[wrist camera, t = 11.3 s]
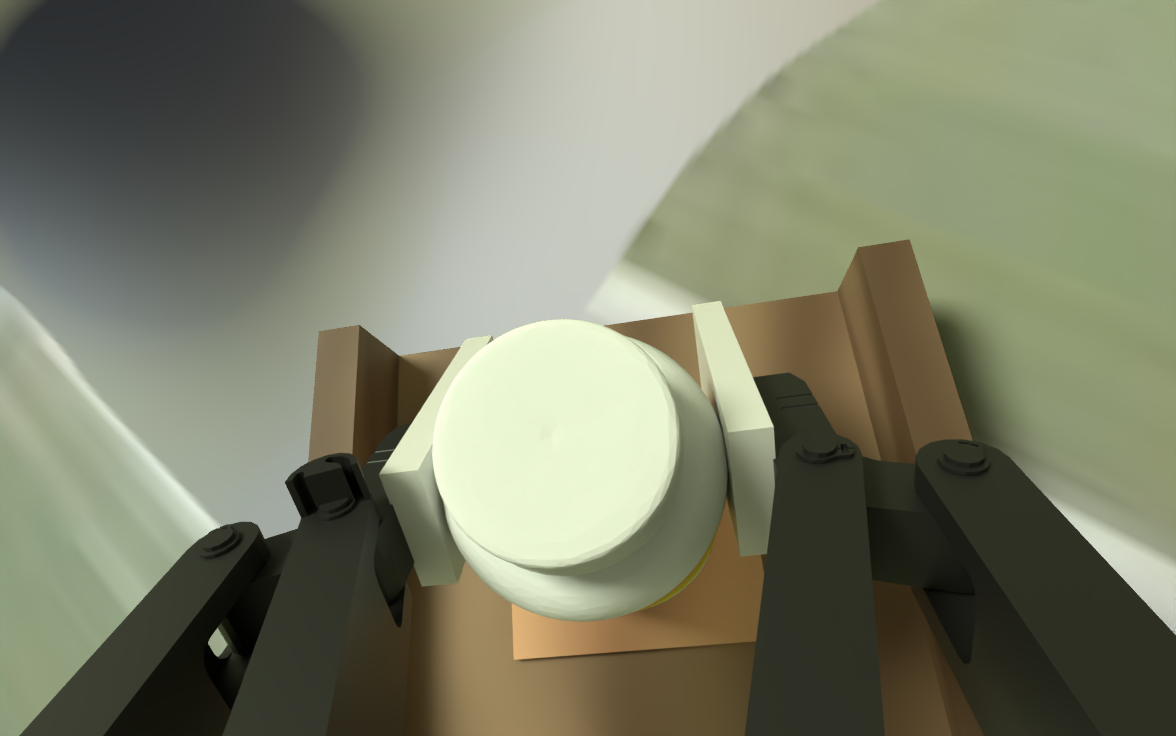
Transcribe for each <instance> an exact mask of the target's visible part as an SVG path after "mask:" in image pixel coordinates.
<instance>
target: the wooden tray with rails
mask: <svg viewBox="0 0 1176 736" xmlns="http://www.w3.org/2000/svg"><path fill="white" fill-rule="evenodd" d="M724 311H725V313H726V315H727V318H728V320H729V323H730V325H731V327H732V330H733V332H734V334H735V337H736V339H737V341H738V344H739V346H740V348H741V351H742V353H743V356H744V358H745V360H746V363H747V365H748V367H749V370H750V372H751V374H752V377H758V376H766V375H773V374H781V373H788V372H790V373H791V374H793V375H795V376H797V377H798V378H800V379H802V380H804V381H805V382H806V384H807V385H808V387H809V389H810V391H811V392H812V396H814V397H815V399H816V401H817V402H818V405H819V406H820V407H821V409H822V411H823V412H824V414H825V416H826V417H827V419H828V421H829V422H830V424H831V426H832V427H833V429H834V431H835V432H836V434H837V435H840V436H842V437H845V438H848V439H850V440H851V441H852V442H854V443H855V444H856V445H858V447H859V449H860V451H861V453H862V456H863V457H867V458H870V459H874V460H880V461H887V462H898V463H912V464H915V456H916V455H917V453H918V451H919V449H920V448H921V447H923V446H925V445H927V444H928V443H930V442H935V441H940V440H945V439H964V440H969V441H973V439H972V436H971V433H970V430H969V427H968V423H967V420H966V417H965V414H964V411H963V408H962V404H961V401H960V398H959V395H958V392H957V389H956V385H955V382H954V379H953V376H952V373H951V370H950V366H949V363H948V360H947V357H946V354H945V351H944V347H943V344H942V341H941V338H940V335H939V331H938V328H937V325H936V322H935V319H934V316H933V312H932V309H931V306H930V303H929V300H928V297H927V293H926V290H925V287H924V284H923V281H922V278H921V274H920V271H919V268H918V265H917V262H916V259H915V255H914V252H913V249H912V246H911V243H910V240H903V241H897V242H890V243H884V244H877V245H871V246H865V247H858V249H857V252H856V254H855V256H854V258H853V260H852V262H851V264H850V266H849V268H848V270H847V273H846V275H845V277H844V279H843V281H842V283H841V285H840V287H839V289H838V291H837V292H830V293H823V294H817V295H810V296H803V297H796V298H789V299H783V300H776V301H769V302H762V303H756V304H749V305H742V306H735V307H728V308H724ZM605 327H607V328H610V329H612V330H614V331H616V332H618V333H620V334H622V335H624V336H626V337H630V338H633V339H636V340H639V341H641V342H643V343H646V344H648V345H650V346H652V347H654V348H656V349H658V350H660V351H661V352H663V353H664V354H666V355H667V356H669V357H670V358H672V359H673V360H674V361H676V362H677V363H678V364H679V365H680V366H681V367H682V368H683V369H685V370H686V372H687V373H688V374H689V375H690V376H691V377H692V378H693V379H694V380H695V382H696V383H697V384H698V385H699V386H700V388H701V381H700V372H699V363H698V355H697V346H696V337H695V329H694V320H693V313H688V314H681V315H674V316H667V317H660V318H654V319H647V320H640V321H633V322H627V323H620V324H613V325H606V326H605ZM460 348H461V347H457V348H450V349H443V350H437V351H430V352H423V353H416V354H409V355H404V356H399V355H397V354H396V353H395V352H393V351H392V350H391V349H390V348H388V347H387V346H386V345H384V344H383V343H382V342H380V341H379V340H378V339H377V338H375V337H374V336H372V335H371V334H370V333H369V332H368V331H366V330H365V329H364V328H362V327H361V326H360V325H357V326H351V327H344V328H338V329H331V330H325V331H319V338H318V349H317V350H318V351H317V362H316V374H315V387H314V399H313V412H312V424H311V436H310V451H309V461H308V462H310V461H312V460H314V459H317V458H320V457H323V456H326V455H330V454H336V453H351V454H352V455H354V456H356V457H357V460H358V462H359V465H360V467H361V469H362V468H363V467H364V465H365V464H366V463H368V459H369V458H370V456H371V455H372V454H373V453H375V449H376V448H377V446H378V445H379V444H380V442H381V441H382V439H383V438H384V437H385V436H386V435H388V434H389V433H390V432H392V431H393V430H394V429H395V428H397V427H398V426H399V425H407V424H412V422H413V421H414V419H415V418H416V416H417V414H418V413H419V411H420V410H421V408H422V407H423V405H424V404H425V402H426V400H427V399H428V397H429V396H430V394H431V393H432V391H433V390H434V388H435V386H436V385H437V383H438V382H439V380H440V379H441V377H442V376H443V374H444V373H445V371H446V369H447V368H448V366H449V365H450V363H451V362H452V360H453V359H454V357H455V355H456V354H457V352H458V351H459V349H460ZM766 556H767V554H761V555H751V556H740V554H739V549H738V545H737V541H736V537H735V532H734V528H733V524H732V520H731V515H730V511H729V507H728V503H727V498H726V503H725V507H724V511H723V515H722V519H721V522H720V525H719V528H718V531H717V534H716V537H715V541H714V544H713V547H712V550H711V553H710V555H709V557H708V559H707V560H706V562H705V564H704V566H703V568H702V569H701V571H700V572H699V573H698V575H697V576H696V577H695V579H694V580H693V581H692V582H691V583H690V584H689V585H688V586H687V587H686V588H685V589H683V590H682V591H681V592H680V593H678V594H677V595H675V596H674V597H672V598H670V599H668V600H667V601H665V602H663V603H661V604H659V605H656V606H653V607H650V608H647V609H644V610H640V611H637V612H634V613H631V614H627V615H624V616H621V617H618V618H612V619H607V620H600V621H589V622H577V621H564V620H558V619H552V618H548V617H544V616H541V615H538V614H535V613H532V612H529V611H527V610H525V609H523V608H521V607H518V606H516V605H514V604H513V603H511V602H509V601H508V600H506V599H505V598H503V597H502V596H500V595H499V594H497V593H496V592H494V591H493V590H492V589H491V588H490V587H488V586H487V585H486V584H485V583H484V582H483V581H482V580H481V579H480V578H479V577H478V576H477V574H476V573H475V572H474V571H473V570H472V569H471V567H470V566H469V565H468V563H467V562H466V561H465V564H464V567H463V570H462V573H461V576H460V578H459V581H458V583H455V584H444V585H434V586H423V587H422V586H421V583H420V580H419V578H418V575H417V573H416V570H415V567H414V565H413V567H412V569H411V571H410V574H409V576H408V578H407V580H406V583H407V585H408V588H409V590H410V593H411V597H412V615H411V629H410V644H409V659H408V674H407V688H406V703H405V718H404V732H403V736H745V728H746V720H747V712H748V703H749V695H750V687H751V679H752V671H753V662H754V654H755V646H756V638H757V630H758V621H759V613H760V605H761V597H762V588H763V580H764V572H765V564H766ZM872 584H873V597H874V609H875V621H876V633H877V645H878V658H879V670H880V682H881V694H882V706H883V719H884V731H885V736H984V734H983V732H982V730H981V728H980V726H979V724H978V722H977V720H976V718H975V716H974V714H973V712H972V710H971V708H970V706H969V704H968V702H967V700H966V698H965V696H964V694H963V692H962V690H961V688H960V686H959V684H958V682H957V680H956V678H955V676H954V674H953V672H952V670H951V668H950V666H949V664H948V662H947V660H946V658H945V656H944V654H943V652H942V650H941V648H940V646H939V644H938V642H937V640H936V638H935V636H934V634H933V632H932V630H931V628H930V626H929V624H928V622H927V620H926V618H925V616H924V614H923V612H922V610H921V608H920V606H919V604H918V602H917V600H916V598H915V596H914V594H913V592H912V590H911V586H908V585H901V584H895V583H888V582H882V581H875V580H872Z"/></svg>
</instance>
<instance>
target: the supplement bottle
mask: <svg viewBox="0 0 1176 736" xmlns="http://www.w3.org/2000/svg"><path fill="white" fill-rule="evenodd" d="M432 459H433V467H434V474H435V478H436V482H437V486H438V489H439V492H440V495H441V497H442V499H443V505H444V511H445V515H446V519H447V522H448V525H449V528H450V531H451V534H452V536H453V539H454V541H455V543H456V545H457V547H458V549H459V551H460V552H461V554H462V555H463V557H464V559H465V560H466V562H467V563H468V565H469V566H470V567H471V569H472V570H473V571H474V572H475V573H476V574H477V576H478V577H479V578H480V579H481V580H482V581H483V582H484V583H485V584H486V585H487V586H488V587H490V588H491V589H492V590H493V591H494V592H496V593H497V594H499V595H500V596H502V597H503V598H505V599H506V600H508V601H509V602H511V603H513V604H514V605H516V606H518V607H521V608H523V609H525V610H527V611H529V612H532V613H535V614H538V615H541V616H544V617H548V618H552V619H558V620H564V621H577V622H589V621H600V620H607V619H612V618H618V617H621V616H624V615H627V614H631V613H634V612H637V611H640V610H644V609H647V608H650V607H653V606H656V605H659V604H661V603H663V602H665V601H667V600H668V599H670V598H672V597H674V596H675V595H677V594H678V593H680V592H681V591H682V590H683V589H685V588H686V587H687V586H688V585H689V584H690V583H691V582H692V581H693V580H694V579H695V577H696V576H697V575H698V573H699V572H700V571H701V569H702V568H703V566H704V564H705V562H706V560H707V559H708V557H709V555H710V553H711V550H712V547H713V544H714V541H715V537H716V534H717V531H718V528H719V525H720V522H721V519H722V515H723V511H724V507H725V503H726V496H727V485H728V463H727V454H726V448H725V443H724V437H723V433H722V430H721V426H720V424H719V421H718V419H717V416H716V414H715V412H714V410H713V407H712V405H711V404H710V402H709V400H708V398H707V396H706V395H705V394H704V392H703V391H702V389H701V388H700V386H699V385H698V384H697V383H696V382H695V380H694V379H693V378H692V377H691V376H690V375H689V374H688V373H687V372H686V370H685V369H683V368H682V367H681V366H680V365H679V364H678V363H677V362H676V361H674V360H673V359H672V358H670V357H669V356H667V355H666V354H664V353H663V352H661V351H660V350H658V349H656V348H654V347H652V346H650V345H648V344H646V343H643V342H641V341H639V340H636V339H633V338H630V337H626V336H624V335H622V334H620V333H618V332H616V331H614V330H612V329H610V328H607V327H605V326H602V325H598V324H595V323H592V322H587V321H582V320H568V319H559V320H547V321H541V322H535V323H532V324H528V325H525V326H522V327H518V328H516V329H514V330H512V331H510V332H508V333H506V334H504V335H501V336H500V337H498V338H497V339H495V340H493V341H492V342H490V343H489V344H487V345H486V346H485V347H483V348H482V349H481V350H480V351H479V352H478V353H476V354H475V355H474V356H473V357H472V358H471V359H470V360H469V361H468V362H467V364H466V365H465V366H464V367H463V368H462V369H461V371H460V372H459V373H458V374H457V376H456V377H455V379H454V380H453V382H452V384H451V385H450V387H449V389H448V391H447V393H446V394H445V397H444V399H443V402H442V404H441V406H440V409H439V412H438V416H437V419H436V423H435V429H434V434H433V447H432Z"/></svg>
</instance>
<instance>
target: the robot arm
mask: <svg viewBox="0 0 1176 736" xmlns="http://www.w3.org/2000/svg"><path fill="white" fill-rule="evenodd" d="M692 312H693V320H694V329H695V337H696V346H697V355H698V363H699V372H700V381H701V389H702V391H703V392H704V394H705V395H706V396H707V398H708V400H709V402H710V404H711V405H712V407H713V410H714V412H715V414H716V416H717V419H718V421H719V424H720V426H721V430H722V433H723V437H724V443H725V448H726V454H727V463H728V485H727V496H726V498H727V503H728V507H729V511H730V515H731V520H732V524H733V528H734V532H735V537H736V541H737V545H738V549H739V554H740V556H751V555H761V554H767V556H766V564H765V572H764V580H763V588H762V597H761V605H760V613H759V621H758V630H757V638H756V646H755V654H754V662H753V671H752V679H751V687H750V695H749V703H748V712H747V720H746V728H745V736H885V731H884V719H883V706H882V694H881V682H880V670H879V658H878V645H877V633H876V621H875V609H874V597H873V584H872V580H875V581H882V582H888V583H895V584H901V585H908V586H911V590H912V592H913V594H914V596H915V598H916V600H917V602H918V604H919V606H920V608H921V610H922V612H923V614H924V616H925V618H926V620H927V622H928V624H929V626H930V628H931V630H932V632H933V634H934V636H935V638H936V640H937V642H938V644H939V646H940V648H941V650H942V652H943V654H944V656H945V658H946V660H947V662H948V664H949V666H950V668H951V670H952V672H953V674H954V676H955V678H956V680H957V682H958V684H959V686H960V688H961V690H962V692H963V694H964V696H965V698H966V700H967V702H968V704H969V706H970V708H971V710H972V712H973V714H974V716H975V718H976V720H977V722H978V724H979V726H980V728H981V730H982V732H983V734H984V736H1176V635H1175V634H1174V633H1173V632H1172V631H1171V630H1170V629H1169V628H1168V626H1167V625H1166V624H1165V623H1164V622H1163V621H1162V620H1161V619H1160V618H1159V617H1158V616H1157V615H1156V614H1155V613H1154V612H1153V610H1152V609H1151V608H1150V607H1149V606H1148V605H1147V604H1146V603H1145V602H1144V601H1143V600H1142V599H1141V598H1140V597H1139V595H1138V594H1137V593H1136V592H1135V591H1134V590H1133V589H1132V588H1131V587H1130V586H1129V585H1128V584H1127V583H1126V582H1125V581H1124V579H1123V578H1122V577H1121V576H1120V575H1119V574H1118V573H1117V572H1116V571H1115V570H1114V569H1113V568H1112V567H1111V566H1110V565H1109V563H1108V562H1107V561H1106V560H1105V559H1104V558H1103V557H1102V556H1101V555H1100V554H1099V553H1098V552H1097V551H1096V550H1095V548H1094V547H1093V546H1092V545H1091V544H1090V543H1089V542H1088V541H1087V540H1086V539H1085V538H1084V537H1083V536H1082V535H1081V534H1080V532H1079V531H1078V530H1077V529H1076V528H1075V527H1074V526H1073V525H1072V524H1071V523H1070V522H1069V521H1068V520H1067V519H1066V517H1065V516H1064V515H1063V514H1062V513H1061V512H1060V511H1059V510H1058V509H1057V508H1056V507H1055V506H1054V505H1053V504H1052V503H1051V501H1050V500H1049V499H1048V498H1047V497H1046V496H1045V495H1044V494H1043V493H1042V492H1041V491H1040V490H1039V489H1038V488H1037V486H1036V485H1035V484H1034V483H1033V482H1032V481H1031V480H1030V479H1029V478H1028V477H1027V476H1026V475H1025V474H1024V473H1023V472H1022V470H1021V469H1020V468H1019V467H1018V466H1017V465H1016V464H1015V463H1014V462H1013V461H1012V460H1011V459H1010V458H1009V457H1008V456H1006V455H1005V454H1004V453H1002V452H1001V451H1000V450H998V449H996V448H993V447H991V446H988V445H986V444H983V443H980V442H976V441H969V440H964V439H945V440H940V441H935V442H930V443H928V444H927V445H925V446H923V447H921V448H920V449H919V451H918V453H917V455H916V456H915V464H912V463H898V462H887V461H880V460H874V459H870V458H867V457H863V456H862V453H861V451H860V449H859V447H858V445H856V444H855V443H854V442H852V441H851V440H850V439H848V438H845V437H842V436H840V435H837V434H836V432H835V431H834V429H833V427H832V426H831V424H830V422H829V421H828V419H827V417H826V416H825V414H824V412H823V411H822V409H821V407H820V406H819V405H818V402H817V401H816V399H815V397H814V396H812V392H811V391H810V389H809V387H808V385H807V384H806V382H805V381H804V380H802V379H800V378H798V377H797V376H795V375H793V374H791V373H790V372H788V373H781V374H773V375H766V376H758V377H752V374H751V372H750V370H749V367H748V365H747V363H746V360H745V358H744V356H743V353H742V351H741V348H740V346H739V344H738V341H737V339H736V337H735V334H734V332H733V330H732V327H731V325H730V323H729V320H728V318H727V315H726V313H725V311H724V308H723V306H722V304H721V301H717V302H711V303H704V304H697V305H692ZM492 341H493V337H492V335H490V336H484V337H476V338H470V339H466V340H465V341H464V343H463V345H462V346H461V348H460V349H459V351H458V352H457V354H456V355H455V357H454V359H453V360H452V362H451V363H450V365H449V366H448V368H447V369H446V371H445V373H444V374H443V376H442V377H441V379H440V380H439V382H438V383H437V385H436V386H435V388H434V390H433V391H432V393H431V394H430V396H429V397H428V399H427V400H426V402H425V404H424V405H423V407H422V408H421V410H420V411H419V413H418V414H417V416H416V418H415V419H414V421H413V422H412V424H407V425H399V426H398V427H397V428H395V429H394V430H393V431H392V432H390V433H389V434H388V435H386V436H385V437H384V438H383V439H382V441H381V442H380V444H379V445H378V446H377V448H376V449H375V453H373V454H372V455H371V456H370V458H369V459H368V463H366V464H365V465H364V467H363V468H362V469H361V467H360V465H359V462H358V460H357V457H356V456H354V455H352V454H351V453H336V454H330V455H326V456H323V457H320V458H317V459H314V460H312V461H310V462H308V463H307V464H305V465H303V466H301V467H300V468H298V469H297V470H296V471H295V472H293V473H292V474H291V475H290V476H289V477H288V479H287V480H286V482H285V484H286V486H287V488H288V490H289V492H290V494H291V497H292V499H293V501H294V503H295V505H296V507H297V509H298V512H299V514H300V516H301V521H300V524H299V526H298V529H295V530H292V531H289V532H286V533H283V534H279V535H276V536H273V537H270V538H267V539H264V537H263V535H262V533H261V531H260V529H259V527H258V525H256V524H254V523H252V522H239V523H234V524H230V525H229V524H228V525H224V526H222V527H220V528H219V529H218V528H217V529H215V530H213V531H211V532H209V533H208V534H207V535H206V536H204V537H203V538H201V539H199V540H198V541H197V542H196V543H195V544H193V545H192V546H191V547H190V548H189V549H188V550H187V551H186V552H185V553H184V554H183V555H182V556H181V558H180V559H179V560H178V561H177V562H176V563H175V564H174V565H173V566H172V568H171V569H170V570H169V571H168V572H167V573H166V574H165V575H164V576H163V578H162V579H161V580H160V581H159V582H158V583H157V584H156V585H155V586H154V587H153V589H152V590H151V591H150V592H149V593H148V594H147V595H146V596H145V597H144V599H143V600H142V601H141V602H140V603H139V604H138V605H137V606H136V607H135V608H134V610H133V611H132V612H131V613H130V614H129V615H128V616H127V617H126V618H125V620H124V621H123V622H122V623H121V624H120V625H119V626H118V627H117V628H116V629H115V631H114V632H113V633H112V634H111V635H110V636H109V637H108V638H107V639H106V641H105V642H104V643H103V644H102V645H101V646H100V647H99V648H98V649H97V651H96V652H95V653H94V654H93V655H92V656H91V657H90V658H89V659H88V660H87V662H86V663H85V664H84V665H83V666H82V667H81V668H80V669H79V670H78V672H77V673H76V674H75V675H74V676H73V677H72V678H71V679H70V680H69V681H68V683H67V684H66V685H65V686H64V687H63V688H62V689H61V690H60V691H59V693H58V694H57V695H56V696H55V697H54V698H53V699H52V700H51V701H50V702H49V704H48V705H47V706H46V707H45V708H44V709H43V710H42V711H41V712H40V714H39V715H38V716H37V717H36V718H35V719H34V720H33V721H32V722H31V724H30V725H29V726H28V727H27V728H26V729H25V730H24V731H23V732H22V733H21V735H20V736H403V732H404V718H405V703H406V688H407V674H408V659H409V644H410V629H411V615H412V597H411V593H410V590H409V588H408V585H407V583H406V580H407V578H408V576H409V574H410V571H411V569H412V567H413V565H414V567H415V570H416V573H417V575H418V578H419V580H420V583H421V586H422V587H423V586H434V585H444V584H455V583H458V581H459V578H460V576H461V573H462V570H463V567H464V564H465V561H466V560H465V559H464V557H463V555H462V554H461V552H460V551H459V549H458V547H457V545H456V543H455V541H454V539H453V536H452V534H451V531H450V528H449V525H448V522H447V519H446V515H445V511H444V505H443V499H442V497H441V495H440V492H439V489H438V486H437V482H436V478H435V474H434V467H433V459H432V447H433V434H434V429H435V423H436V419H437V416H438V412H439V409H440V406H441V404H442V402H443V399H444V397H445V394H446V393H447V391H448V389H449V387H450V385H451V384H452V382H453V380H454V379H455V377H456V376H457V374H458V373H459V372H460V371H461V369H462V368H463V367H464V366H465V365H466V364H467V362H468V361H469V360H470V359H471V358H472V357H473V356H474V355H475V354H476V353H478V352H479V351H480V350H481V349H482V348H483V347H485V346H486V345H487V344H489V343H490V342H492ZM217 627H218V629H219V631H220V632H221V634H222V636H223V637H224V639H225V641H226V642H227V644H228V645H227V647H226V648H225V650H224V651H223V653H222V654H221V655H220V656H219V657H217V656H216V655H215V654H214V653H213V651H212V650H211V648H210V646H209V645H208V641H209V639H210V637H211V636H212V634H213V633H214V632H215V630H216V629H217Z"/></svg>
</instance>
